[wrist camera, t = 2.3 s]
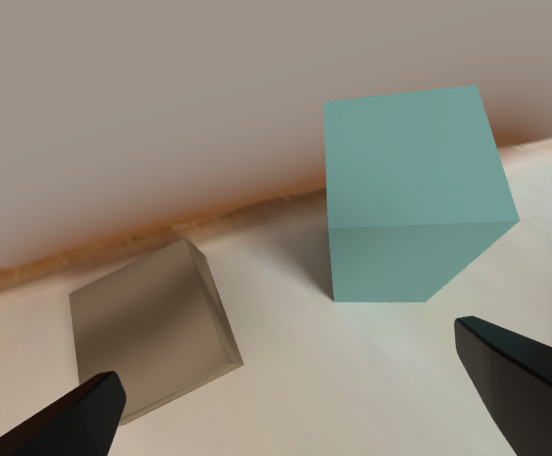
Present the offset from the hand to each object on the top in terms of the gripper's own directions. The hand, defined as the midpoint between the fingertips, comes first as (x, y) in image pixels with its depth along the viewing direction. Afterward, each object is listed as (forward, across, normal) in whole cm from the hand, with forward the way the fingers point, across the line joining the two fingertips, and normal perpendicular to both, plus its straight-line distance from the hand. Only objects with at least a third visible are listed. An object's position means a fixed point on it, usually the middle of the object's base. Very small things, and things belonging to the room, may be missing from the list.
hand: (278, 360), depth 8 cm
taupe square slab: (+13, +10, +6) cm, 18 cm away
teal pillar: (+15, -6, +4) cm, 16 cm away
